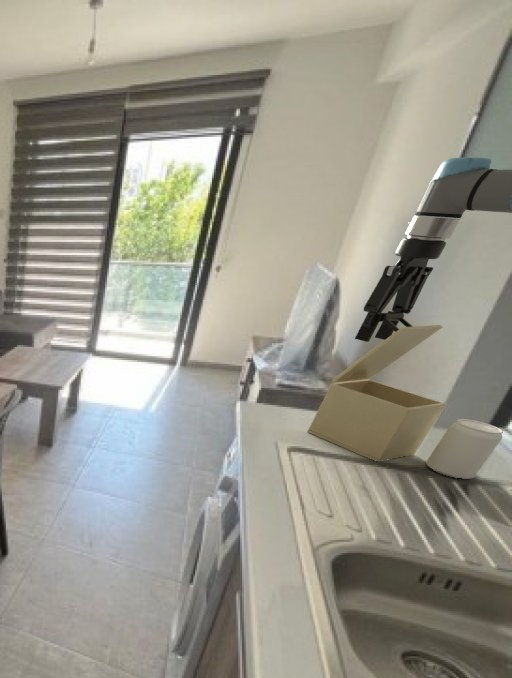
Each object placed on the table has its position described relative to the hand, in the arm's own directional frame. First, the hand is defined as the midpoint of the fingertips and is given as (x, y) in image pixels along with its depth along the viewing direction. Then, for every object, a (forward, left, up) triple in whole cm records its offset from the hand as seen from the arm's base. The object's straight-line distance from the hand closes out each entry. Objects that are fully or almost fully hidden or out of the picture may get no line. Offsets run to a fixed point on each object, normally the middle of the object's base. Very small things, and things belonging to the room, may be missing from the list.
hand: (371, 339), depth 118 cm
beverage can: (-24, -5, -25) cm, 35 cm away
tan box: (-8, 0, -25) cm, 26 cm away
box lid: (-4, 0, -3) cm, 5 cm away
